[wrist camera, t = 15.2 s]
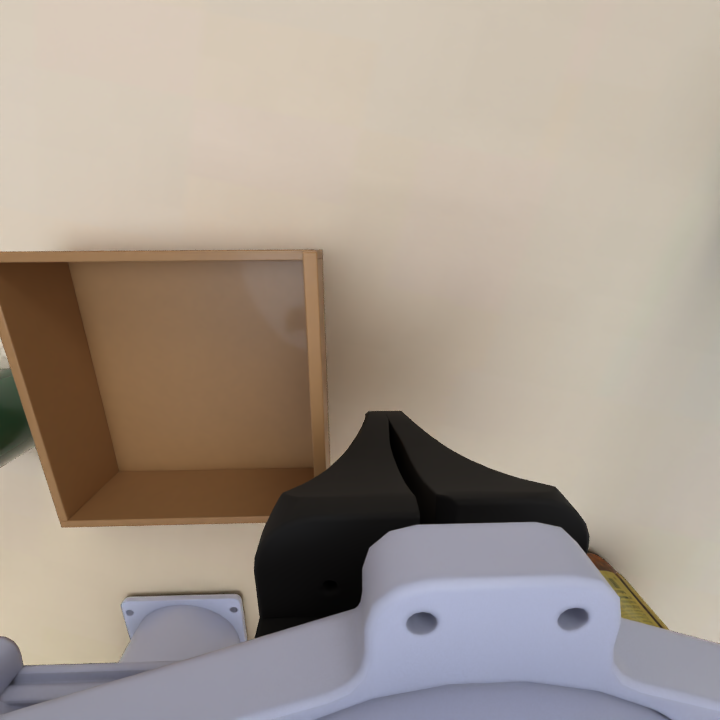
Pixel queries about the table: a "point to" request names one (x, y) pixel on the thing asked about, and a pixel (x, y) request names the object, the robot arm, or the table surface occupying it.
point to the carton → (163, 380)
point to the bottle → (12, 421)
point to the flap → (314, 358)
